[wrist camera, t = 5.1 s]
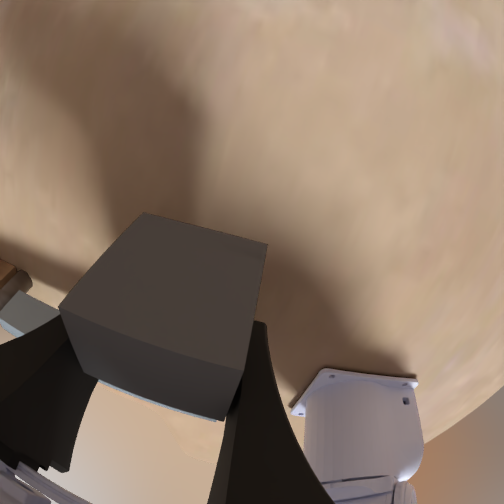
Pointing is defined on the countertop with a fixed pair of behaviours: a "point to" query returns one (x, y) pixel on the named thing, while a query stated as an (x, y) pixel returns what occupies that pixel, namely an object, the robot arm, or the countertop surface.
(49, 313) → the long pale blue beam
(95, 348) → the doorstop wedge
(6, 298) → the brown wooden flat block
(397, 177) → the countertop surface
